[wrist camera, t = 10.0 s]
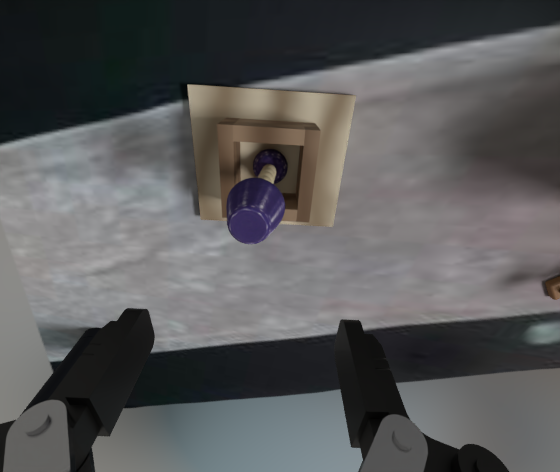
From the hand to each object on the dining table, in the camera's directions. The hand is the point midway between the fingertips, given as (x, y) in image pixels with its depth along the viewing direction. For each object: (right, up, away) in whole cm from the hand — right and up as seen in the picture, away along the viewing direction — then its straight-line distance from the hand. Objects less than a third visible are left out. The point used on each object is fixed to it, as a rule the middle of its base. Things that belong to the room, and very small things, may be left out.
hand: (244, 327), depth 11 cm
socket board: (0, +13, +22) cm, 26 cm away
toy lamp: (0, +13, +22) cm, 25 cm away
